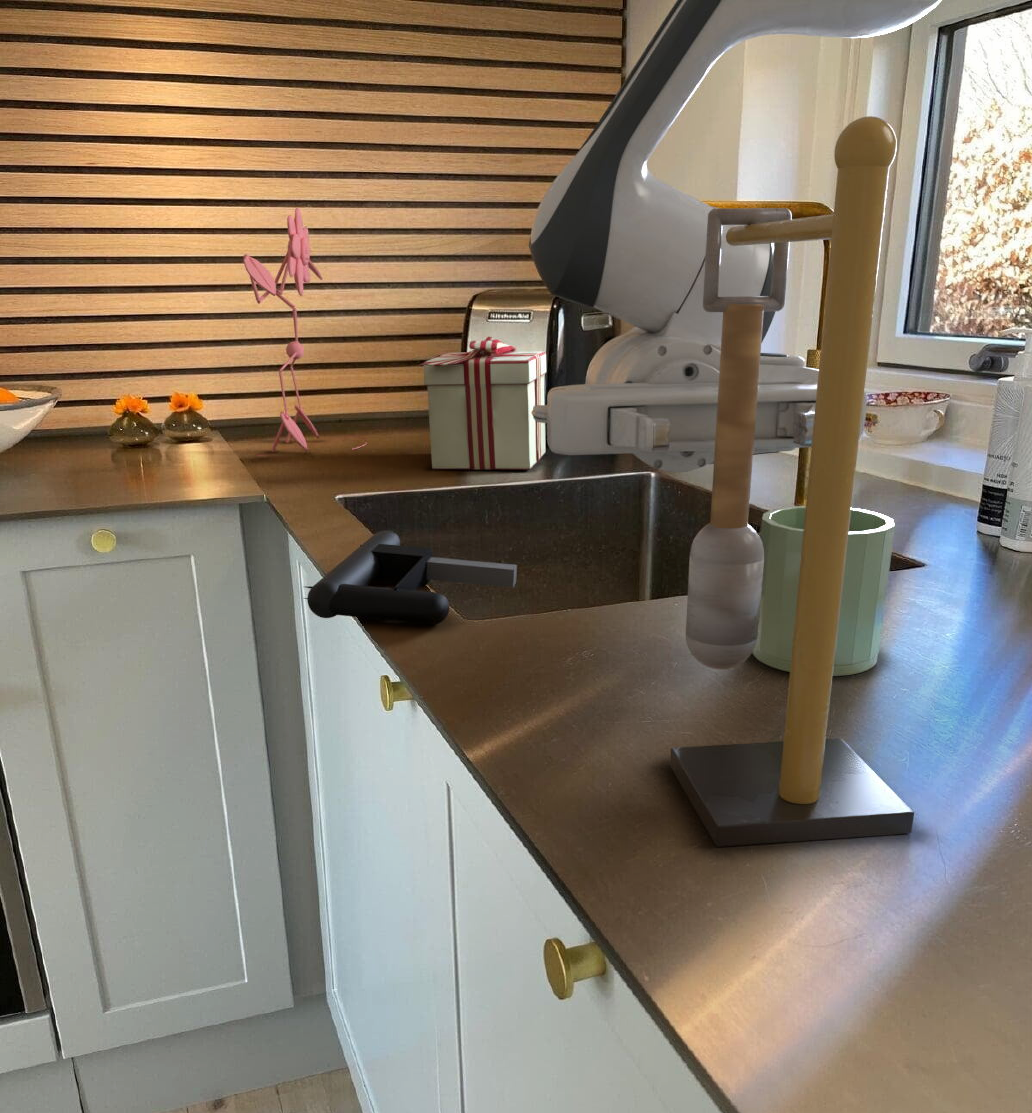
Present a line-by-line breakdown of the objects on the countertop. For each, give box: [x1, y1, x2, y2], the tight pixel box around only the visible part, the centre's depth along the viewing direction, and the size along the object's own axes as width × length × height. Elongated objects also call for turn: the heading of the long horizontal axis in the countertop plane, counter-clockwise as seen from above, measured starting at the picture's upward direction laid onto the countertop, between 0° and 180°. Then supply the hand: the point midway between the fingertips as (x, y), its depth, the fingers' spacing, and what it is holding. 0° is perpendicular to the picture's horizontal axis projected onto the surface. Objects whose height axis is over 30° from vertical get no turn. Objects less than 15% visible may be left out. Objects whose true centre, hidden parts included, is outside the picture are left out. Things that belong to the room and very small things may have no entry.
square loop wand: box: [685, 207, 793, 670], centre depth 61 cm, size 5×4×26 cm
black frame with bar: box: [303, 529, 518, 625], centre depth 91 cm, size 3×20×16 cm
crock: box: [751, 505, 896, 677], centre depth 74 cm, size 9×9×10 cm
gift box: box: [419, 336, 548, 471], centre depth 149 cm, size 17×18×17 cm
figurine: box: [242, 206, 368, 457], centre depth 161 cm, size 15×26×35 cm, turn 178°
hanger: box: [669, 115, 915, 848], centre depth 54 cm, size 10×19×32 cm, turn 7°
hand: (738, 433), depth 60 cm, fingers open, 8 cm apart
